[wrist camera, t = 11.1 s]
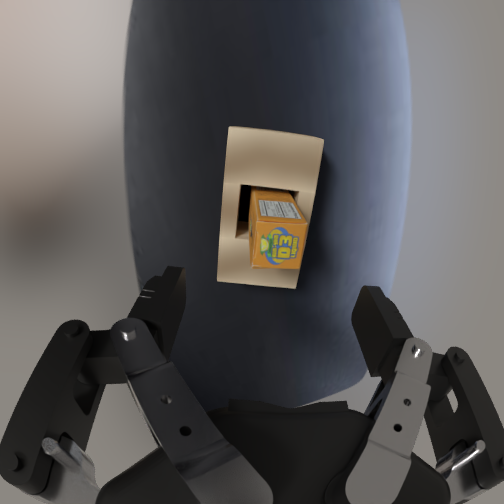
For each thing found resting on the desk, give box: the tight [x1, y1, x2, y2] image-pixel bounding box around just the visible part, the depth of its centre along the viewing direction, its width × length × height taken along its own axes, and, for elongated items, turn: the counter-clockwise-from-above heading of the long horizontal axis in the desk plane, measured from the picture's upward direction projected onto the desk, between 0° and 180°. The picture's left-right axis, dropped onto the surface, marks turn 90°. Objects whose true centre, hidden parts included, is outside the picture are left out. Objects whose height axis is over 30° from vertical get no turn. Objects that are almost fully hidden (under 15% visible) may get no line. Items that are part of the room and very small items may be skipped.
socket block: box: [217, 126, 324, 289], centre depth 23 cm, size 13×7×4 cm, turn 174°
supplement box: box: [249, 185, 308, 269], centre depth 21 cm, size 3×3×10 cm
